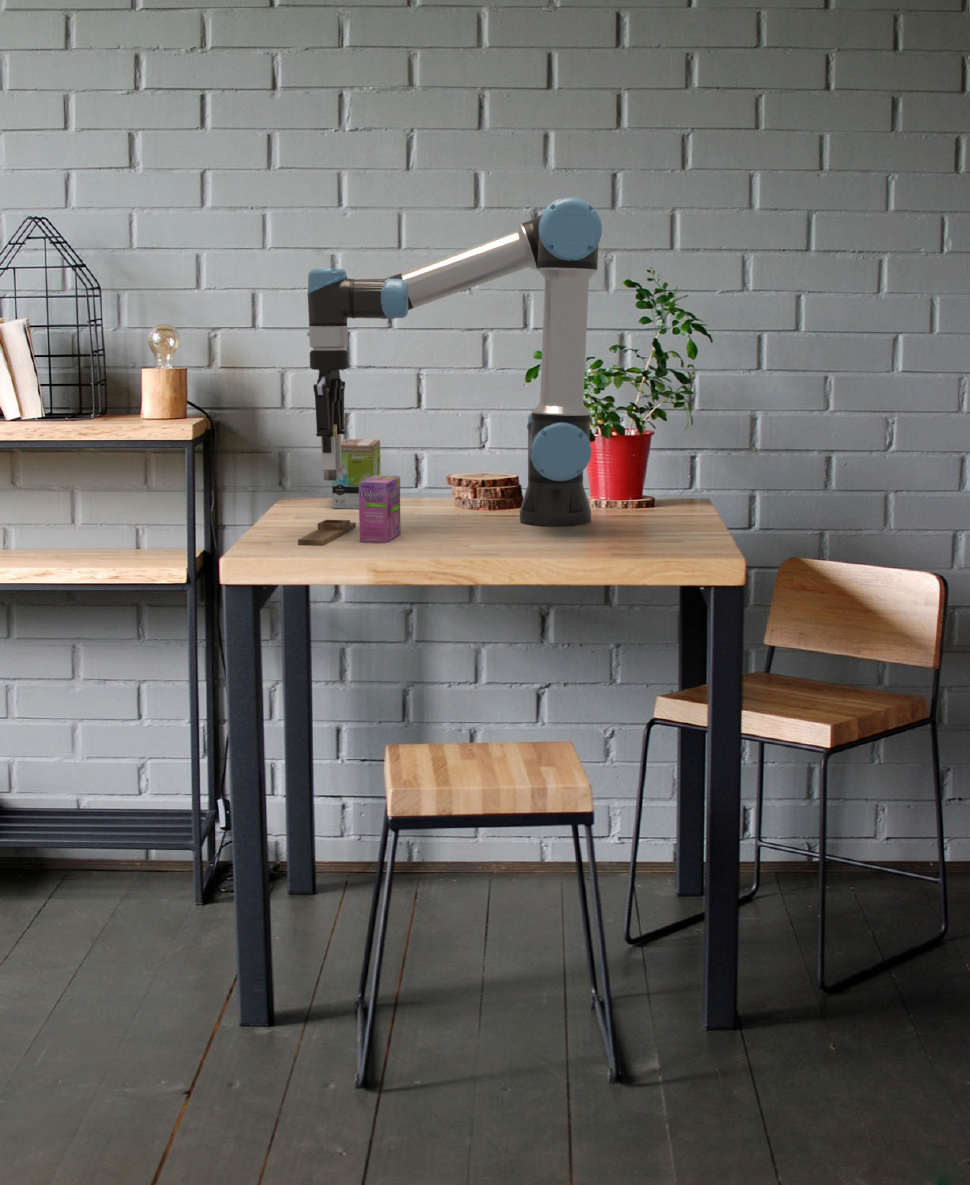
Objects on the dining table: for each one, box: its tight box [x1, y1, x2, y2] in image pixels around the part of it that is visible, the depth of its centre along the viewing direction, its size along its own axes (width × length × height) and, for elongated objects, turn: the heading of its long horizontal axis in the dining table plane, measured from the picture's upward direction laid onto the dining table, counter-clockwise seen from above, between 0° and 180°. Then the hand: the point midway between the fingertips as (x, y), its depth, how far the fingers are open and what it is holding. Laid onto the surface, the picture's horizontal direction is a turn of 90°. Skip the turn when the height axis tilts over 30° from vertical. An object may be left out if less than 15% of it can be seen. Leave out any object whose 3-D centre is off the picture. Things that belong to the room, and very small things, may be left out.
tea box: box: [331, 438, 381, 509], centre depth 306 cm, size 15×10×15 cm
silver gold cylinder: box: [323, 424, 337, 482], centre depth 264 cm, size 3×3×11 cm
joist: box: [297, 519, 357, 546], centre depth 264 cm, size 5×22×2 cm, turn 169°
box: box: [358, 474, 401, 544], centre depth 260 cm, size 10×6×12 cm, turn 168°
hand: (331, 468), depth 265 cm, fingers closed on silver gold cylinder, 3 cm apart
